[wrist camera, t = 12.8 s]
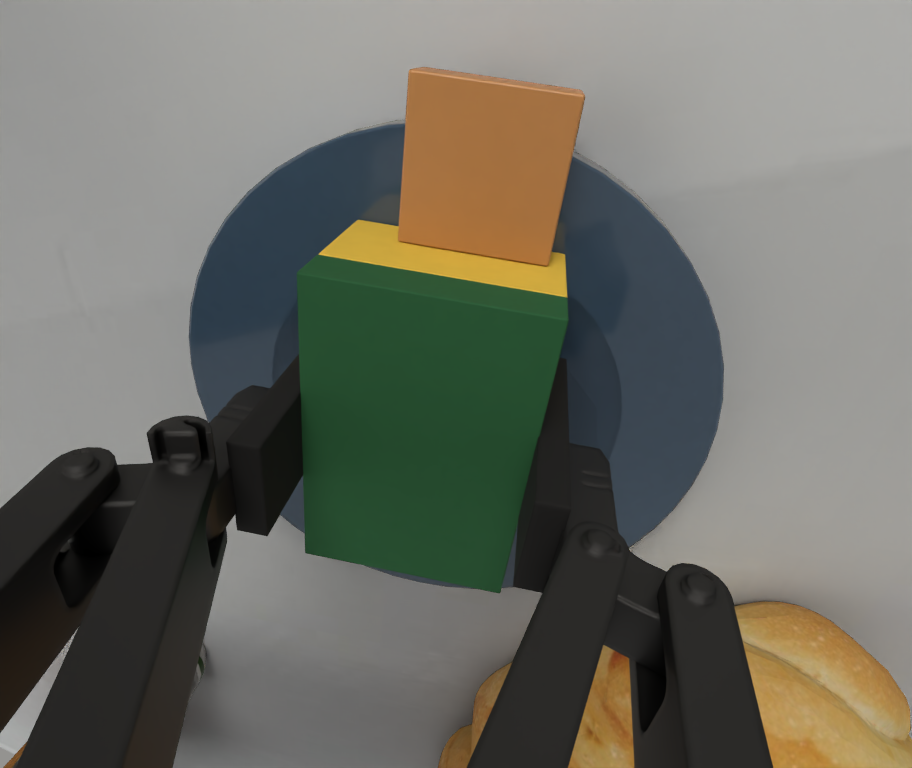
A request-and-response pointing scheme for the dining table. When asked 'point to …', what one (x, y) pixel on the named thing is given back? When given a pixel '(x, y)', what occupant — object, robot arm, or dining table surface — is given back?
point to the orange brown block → (486, 163)
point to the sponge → (422, 401)
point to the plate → (586, 340)
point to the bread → (777, 691)
